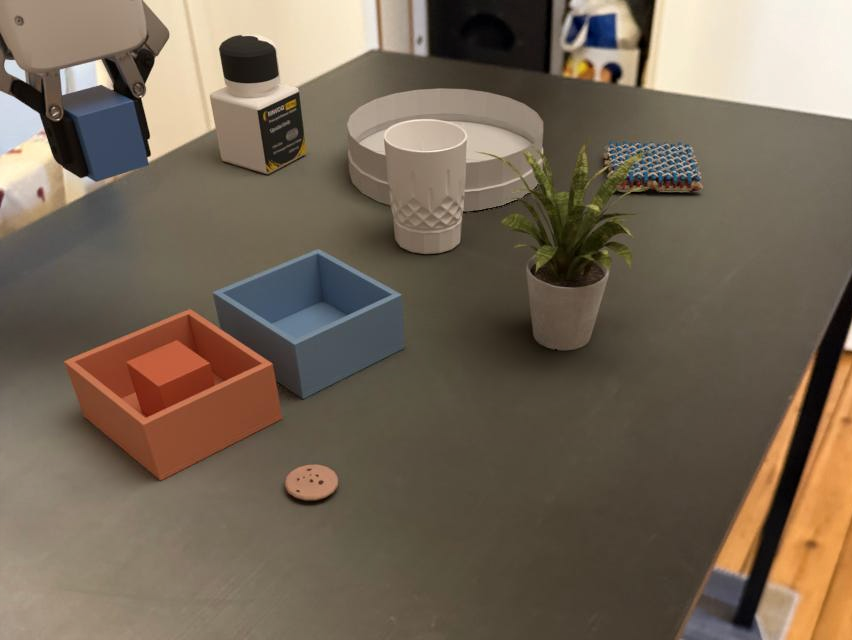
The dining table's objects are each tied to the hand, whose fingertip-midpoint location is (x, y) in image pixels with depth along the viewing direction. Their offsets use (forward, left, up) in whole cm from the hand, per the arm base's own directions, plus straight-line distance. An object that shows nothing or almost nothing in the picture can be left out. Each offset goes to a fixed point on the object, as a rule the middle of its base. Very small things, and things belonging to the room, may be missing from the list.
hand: (106, 159), depth 70 cm
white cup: (+3, +30, -15) cm, 34 cm away
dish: (-8, +43, -15) cm, 46 cm away
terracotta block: (+12, -5, -14) cm, 19 cm away
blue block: (0, 0, 0) cm, 0 cm away
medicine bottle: (-25, +30, -15) cm, 42 cm away
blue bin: (+11, +9, -15) cm, 21 cm away
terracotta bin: (+12, -5, -15) cm, 20 cm away
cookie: (+26, -3, -15) cm, 30 cm away
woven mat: (+9, +59, -15) cm, 62 cm away
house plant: (+24, +25, -15) cm, 38 cm away
